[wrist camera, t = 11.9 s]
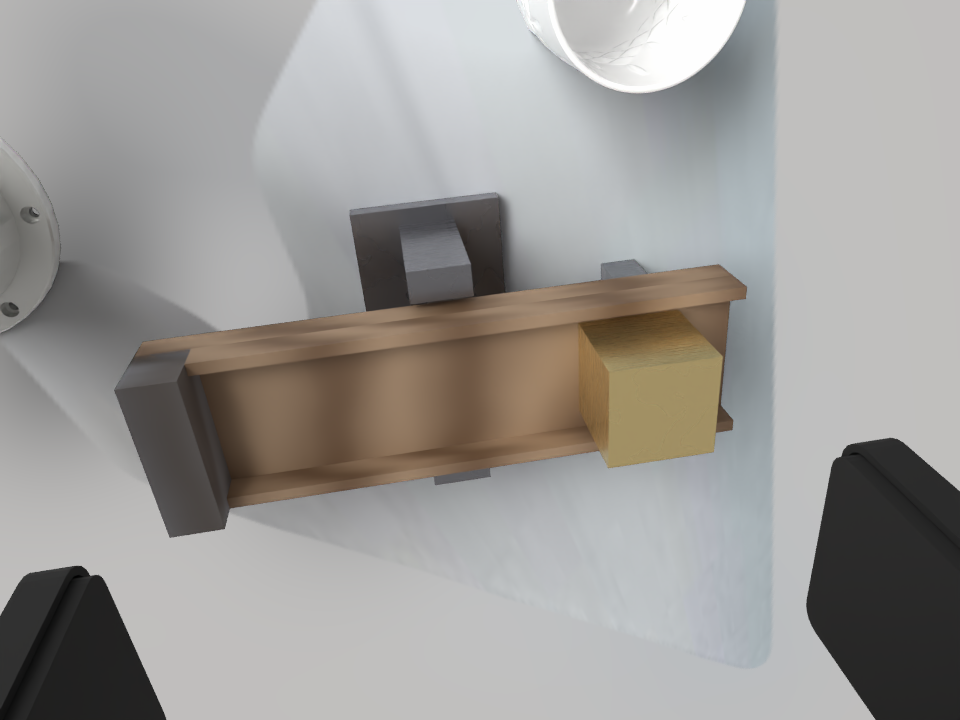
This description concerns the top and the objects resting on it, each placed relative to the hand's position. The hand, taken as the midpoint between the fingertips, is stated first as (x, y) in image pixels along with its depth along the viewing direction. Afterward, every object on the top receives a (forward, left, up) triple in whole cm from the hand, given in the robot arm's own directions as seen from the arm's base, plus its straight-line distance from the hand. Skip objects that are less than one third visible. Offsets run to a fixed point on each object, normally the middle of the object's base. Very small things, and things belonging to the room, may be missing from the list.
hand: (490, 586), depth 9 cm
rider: (+10, -11, -24) cm, 28 cm away
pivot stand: (+1, -11, -32) cm, 34 cm away
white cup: (+10, +6, -32) cm, 35 cm away
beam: (+1, -11, -25) cm, 28 cm away
